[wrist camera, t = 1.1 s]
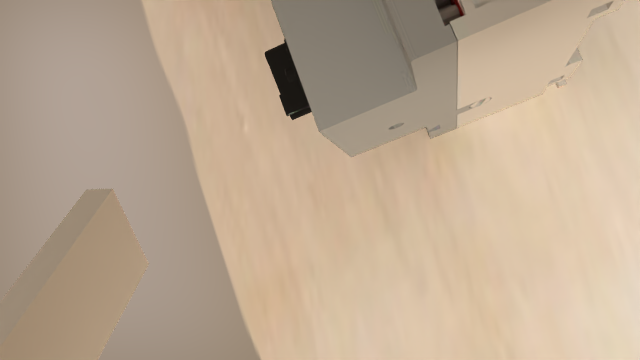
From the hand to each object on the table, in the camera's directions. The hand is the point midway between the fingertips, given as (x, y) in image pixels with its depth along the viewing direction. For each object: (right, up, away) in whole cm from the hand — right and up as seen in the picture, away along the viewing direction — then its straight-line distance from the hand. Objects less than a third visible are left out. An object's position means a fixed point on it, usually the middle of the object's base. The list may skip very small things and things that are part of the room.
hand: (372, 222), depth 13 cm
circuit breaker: (+5, +7, +21) cm, 22 cm away
